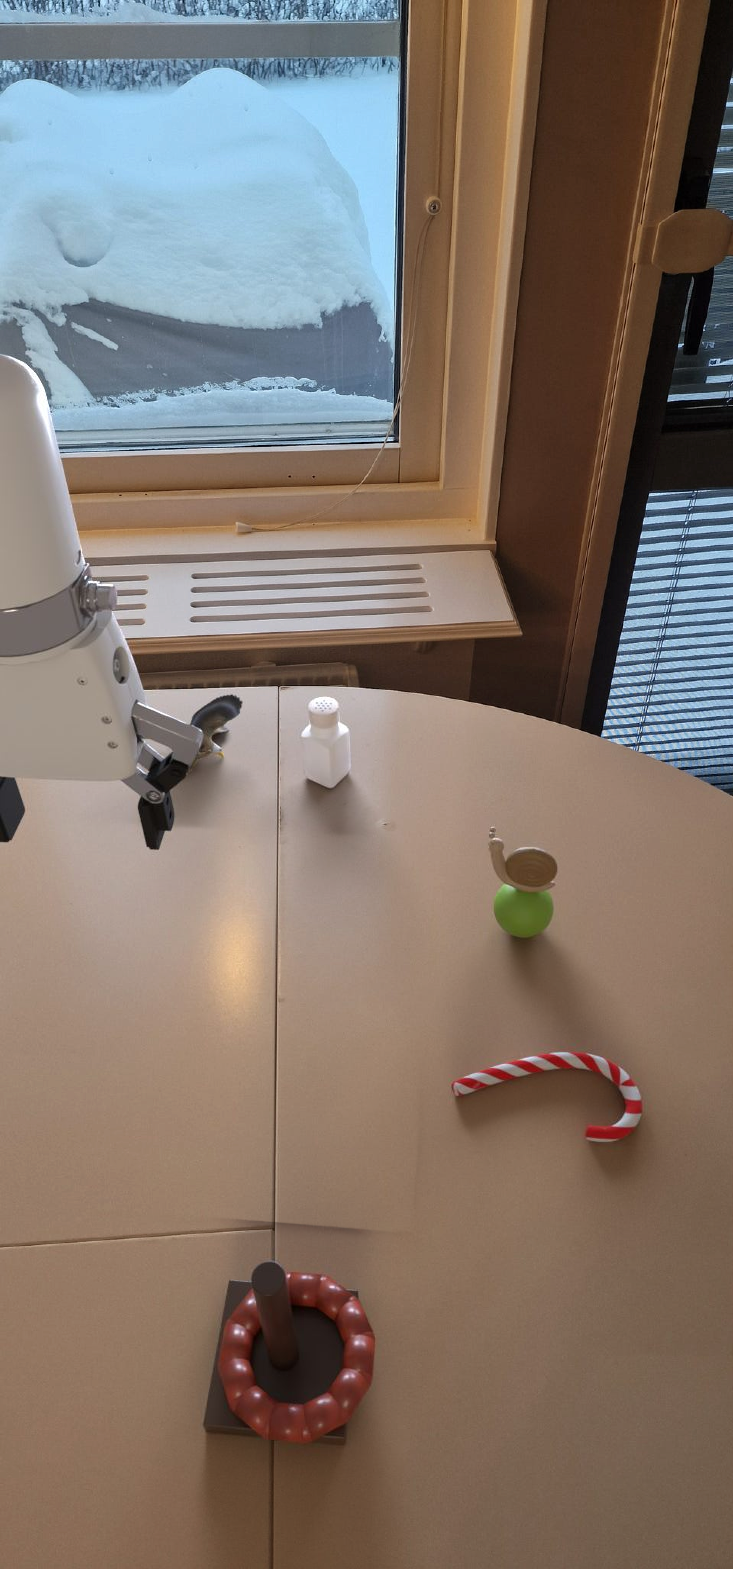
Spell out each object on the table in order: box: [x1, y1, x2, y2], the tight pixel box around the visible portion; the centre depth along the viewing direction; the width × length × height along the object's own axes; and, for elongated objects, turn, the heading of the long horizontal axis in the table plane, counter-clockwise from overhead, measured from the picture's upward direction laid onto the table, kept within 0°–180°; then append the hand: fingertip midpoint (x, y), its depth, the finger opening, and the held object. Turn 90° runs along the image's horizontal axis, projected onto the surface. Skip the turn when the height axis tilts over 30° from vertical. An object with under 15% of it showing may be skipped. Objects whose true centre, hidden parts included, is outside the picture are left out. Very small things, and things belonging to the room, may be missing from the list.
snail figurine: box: [487, 826, 559, 938], centre depth 93 cm, size 5×6×12 cm
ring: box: [218, 1271, 376, 1444], centre depth 67 cm, size 10×10×2 cm
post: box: [202, 1260, 359, 1446], centre depth 65 cm, size 9×9×14 cm
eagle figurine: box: [187, 694, 244, 774], centre depth 114 cm, size 8×7×9 cm
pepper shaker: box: [300, 696, 352, 789], centre depth 110 cm, size 4×4×10 cm
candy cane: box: [451, 1051, 643, 1143], centre depth 83 cm, size 8×1×15 cm
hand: (85, 830), depth 67 cm, fingers open, 9 cm apart
